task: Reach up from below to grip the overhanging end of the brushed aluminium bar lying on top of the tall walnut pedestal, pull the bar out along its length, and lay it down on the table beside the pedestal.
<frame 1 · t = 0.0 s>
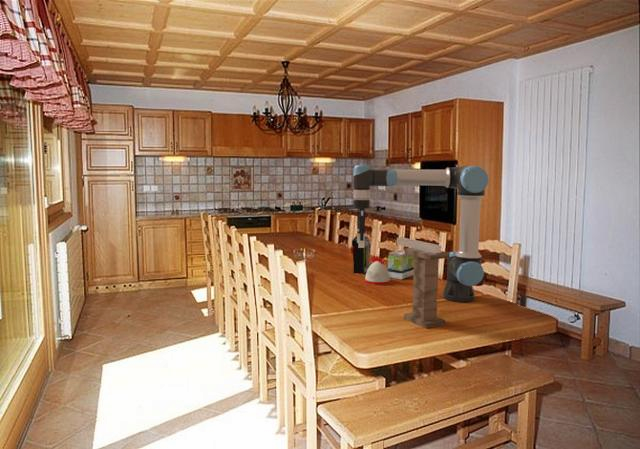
hand: (360, 245, 223), 28 cm above the table, tool pointing down, fingers open, 13 cm apart
walnut pedestal: (424, 321, 202), on the table
tea box: (400, 276, 284), on the table
aluminium bar: (417, 248, 203), point 30 cm above the table, touching walnut pedestal
kitchen timer: (377, 282, 270), on the table
electrical component: (360, 270, 299), on the table
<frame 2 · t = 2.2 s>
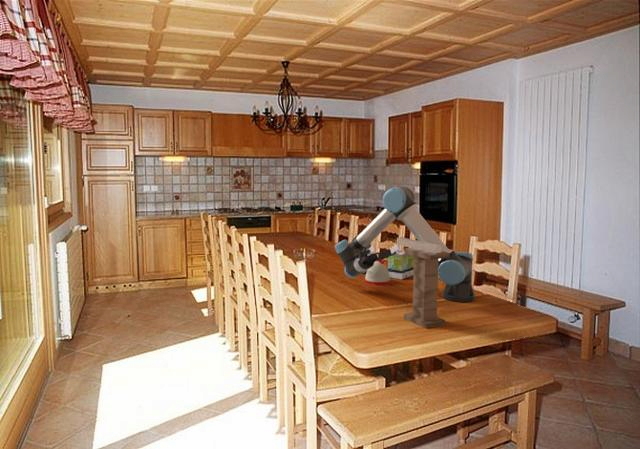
hand: (386, 247, 222), 27 cm above the table, tool pointing upward, fingers open, 13 cm apart
nothing on the table moved.
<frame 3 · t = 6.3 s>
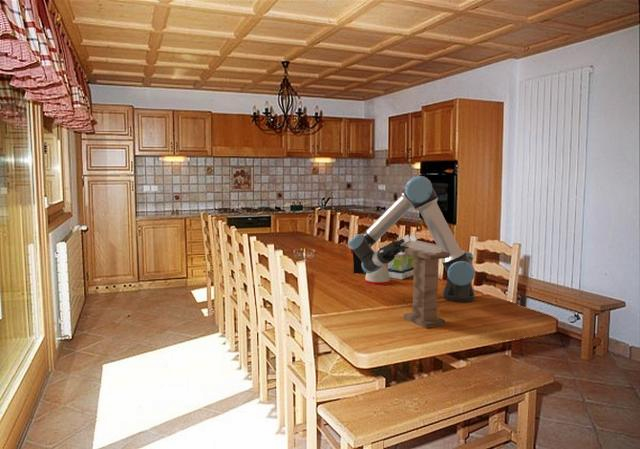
hand: (412, 237, 206), 34 cm above the table, tool pointing upward, fingers closed on aluminium bar, 3 cm apart
aluminium bar: (417, 248, 203), point 30 cm above the table, touching gripper, walnut pedestal
everything else where it was.
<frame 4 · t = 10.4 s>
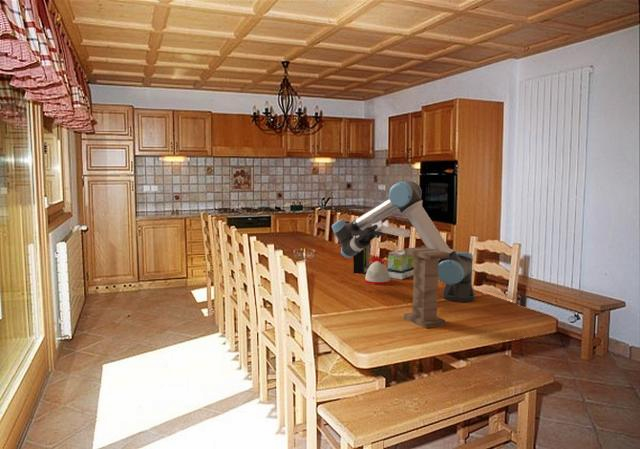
hand: (385, 222, 223), 38 cm above the table, tool pointing upward, fingers closed on aluminium bar, 3 cm apart
aluminium bar: (389, 233, 220), point 34 cm above the table, touching gripper
everything else where it was.
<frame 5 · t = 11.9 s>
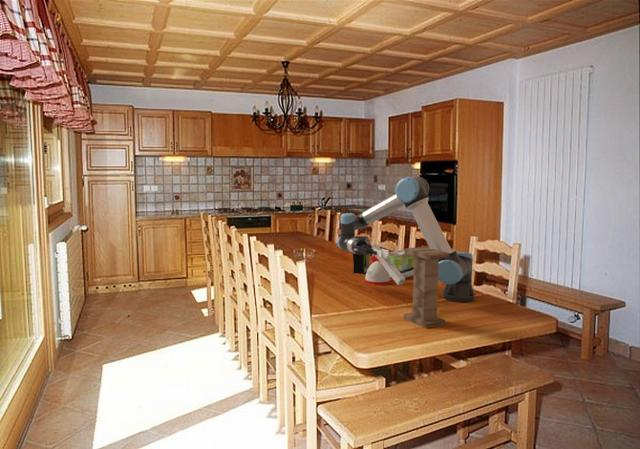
hand: (385, 253, 224), 24 cm above the table, tool horizontal, fingers closed on aluminium bar, 3 cm apart
aluminium bar: (386, 266, 224), point 18 cm above the table, tilted 30°, touching gripper
everything else where it was.
when the fingers open (13 cm above the table, at t = 14.7 s): aluminium bar drops 8 cm, on the table.
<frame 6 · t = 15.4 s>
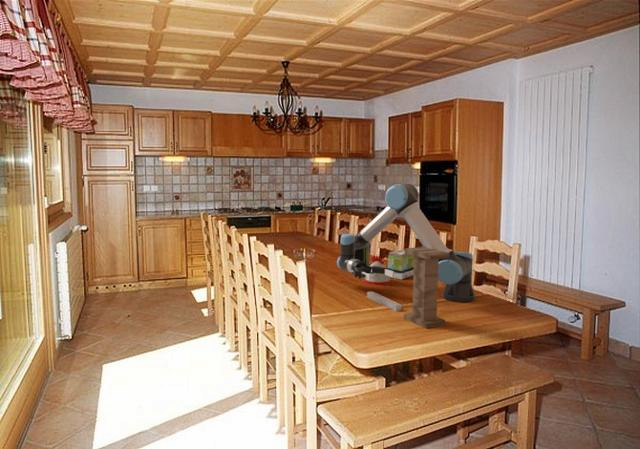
hand: (381, 276, 227), 13 cm above the table, tool horizontal, fingers open, 13 cm apart
aluminium bar: (383, 304, 228), on the table
everything else where it was.
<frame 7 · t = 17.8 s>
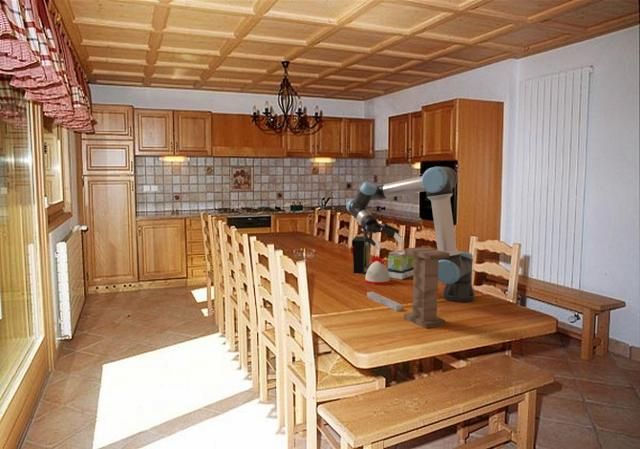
hand: (391, 245, 231), 27 cm above the table, tool tilted 60°, fingers open, 13 cm apart
nothing on the table moved.
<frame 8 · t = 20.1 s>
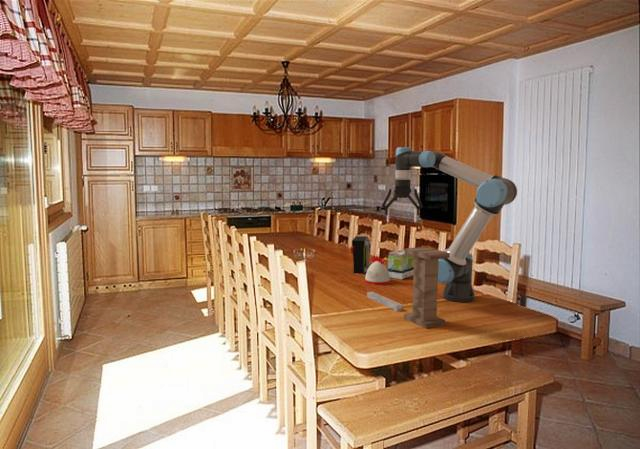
hand: (401, 222, 240), 37 cm above the table, tool pointing down, fingers open, 13 cm apart
nothing on the table moved.
at the end: aluminium bar on the table; aluminium bar touching table; the gripper is holding nothing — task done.
